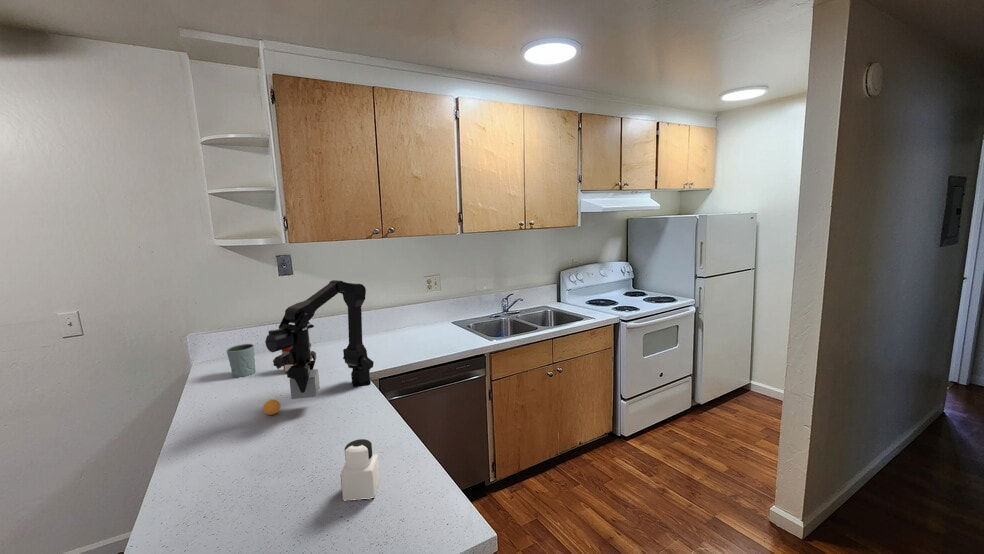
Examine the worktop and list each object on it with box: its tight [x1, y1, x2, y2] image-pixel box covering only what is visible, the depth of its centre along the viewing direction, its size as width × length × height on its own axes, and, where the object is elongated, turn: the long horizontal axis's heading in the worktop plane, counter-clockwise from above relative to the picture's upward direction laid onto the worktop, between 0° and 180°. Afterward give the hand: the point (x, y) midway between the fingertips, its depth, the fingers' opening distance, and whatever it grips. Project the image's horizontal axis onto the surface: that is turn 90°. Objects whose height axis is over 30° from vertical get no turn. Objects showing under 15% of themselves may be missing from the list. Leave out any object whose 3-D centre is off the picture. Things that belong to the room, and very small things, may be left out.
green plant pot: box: [226, 343, 257, 378], centre depth 179 cm, size 10×10×12 cm
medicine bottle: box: [340, 438, 381, 501], centre depth 98 cm, size 7×7×12 cm
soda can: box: [281, 347, 296, 373], centre depth 181 cm, size 7×7×12 cm
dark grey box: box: [289, 368, 321, 400], centre depth 143 cm, size 8×8×7 cm
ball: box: [263, 399, 281, 416], centre depth 141 cm, size 5×5×5 cm
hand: (305, 387), depth 143 cm, fingers closed on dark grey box, 8 cm apart
